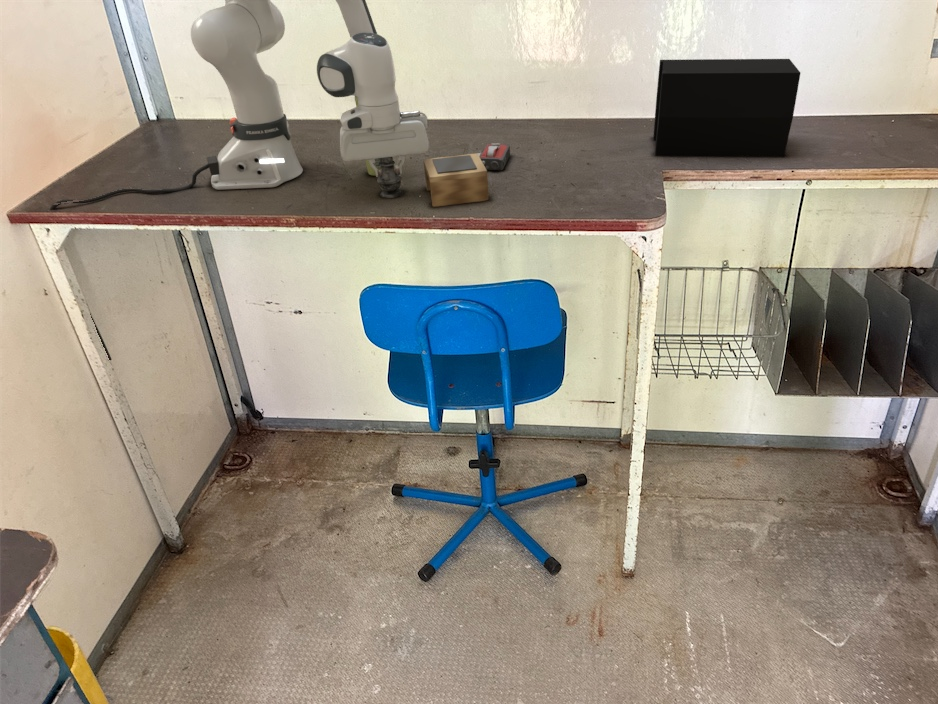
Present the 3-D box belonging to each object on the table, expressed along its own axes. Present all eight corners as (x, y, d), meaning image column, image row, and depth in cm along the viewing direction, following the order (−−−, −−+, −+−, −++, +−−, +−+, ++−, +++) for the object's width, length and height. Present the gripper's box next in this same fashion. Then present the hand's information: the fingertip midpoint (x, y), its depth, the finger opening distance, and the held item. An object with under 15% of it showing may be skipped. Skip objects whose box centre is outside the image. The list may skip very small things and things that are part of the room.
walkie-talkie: (479, 153, 189) (462, 181, 173) (478, 136, 186) (461, 163, 171) (512, 153, 188) (497, 182, 172) (511, 137, 185) (496, 164, 169)
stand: (432, 207, 161) (429, 175, 157) (426, 187, 171) (422, 157, 166) (488, 200, 163) (486, 169, 159) (479, 181, 173) (477, 151, 168)
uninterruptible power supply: (653, 136, 195) (659, 58, 183) (779, 137, 191) (795, 57, 179) (655, 157, 182) (662, 74, 170) (791, 158, 178) (808, 74, 166)
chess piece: (399, 198, 166) (392, 147, 159) (375, 197, 167) (367, 147, 160) (407, 189, 171) (400, 139, 163) (383, 188, 172) (376, 138, 164)
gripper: (424, 105, 162) (431, 165, 170) (334, 114, 159) (345, 175, 167) (428, 113, 157) (434, 174, 165) (334, 123, 154) (345, 184, 162)
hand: (388, 175), depth 166 cm, fingers closed on chess piece, 3 cm apart
